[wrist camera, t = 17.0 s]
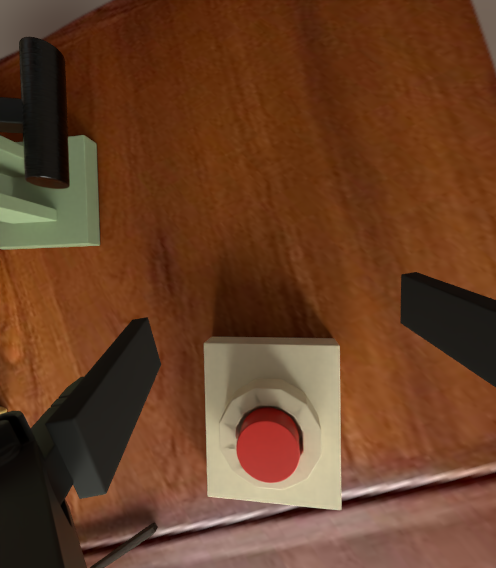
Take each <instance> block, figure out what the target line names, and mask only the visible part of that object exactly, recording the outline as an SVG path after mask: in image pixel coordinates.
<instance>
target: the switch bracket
mask: <svg viewBox="0 0 496 568" xmlns="http://www.w3.org/2000/svg"><path fill="white" fill-rule="evenodd" d="M68 151H69V178H70V186H69V187H68V188H66V189H51V188H45V187H40V186H36V185H33V184H31V183H29V182H27V181H26V180H25V171H24V147H23V142H13V141H11V140H9V139H7V138H5V137H3V136H1V135H0V249H27V248H51V247H75V246H99V245H100V229H99V200H98V171H97V144H96V143H95V142H93V141H92V140H91V139H89V138H88V137H86V136H85V135H79V136H70V137H68Z"/></svg>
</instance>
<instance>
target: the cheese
mask: <svg viewBox="0 0 496 568" xmlns="http://www.w3.org/2000/svg"><path fill="white" fill-rule="evenodd" d="M6 412H7V409H6V408H4V407H1V406H0V414H2V413H6Z"/></svg>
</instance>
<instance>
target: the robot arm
mask: <svg viewBox="0 0 496 568" xmlns="http://www.w3.org/2000/svg"><path fill="white" fill-rule="evenodd" d="M401 324H403V325H404V326H406V327H407V328H409V329H410V330H412V331H413V332H415V333H416V334H418V335H419V336H421V337H422V338H424V339H425V340H427V341H428V342H430V343H431V344H432V345H434V346H435V347H437V348H438V349H440V350H441V351H443V352H444V353H446V354H447V355H449V356H450V357H452V358H453V359H455V360H456V361H458V362H459V363H461V364H462V365H464V366H465V367H466V368H468V369H469V370H471V371H472V372H474V373H475V374H477V375H478V376H480V377H481V378H483V379H484V380H486V381H487V382H489V383H490V384H492V385H493V386H495V387H496V300H494V299H491V298H488V297H485V296H482V295H480V294H477V293H474V292H471V291H468V290H465V289H463V288H460V287H457V286H454V285H451V284H448V283H445V282H443V281H440V280H437V279H434V278H431V277H428V276H426V275H423V274H420V273H417V272H414V273H408V274H402V275H401ZM160 366H161V362H160V359H159V355H158V352H157V348H156V345H155V341H154V338H153V334H152V331H151V327H150V324H149V320H148V317H146V318H140V319H134V320H132V321H131V322H130V323H129V325H128V326H127V327H126V328H125V329H124V330H123V332H122V333H121V334H120V335H119V336H118V338H117V339H116V340H115V341H114V342H113V343H112V345H111V346H110V347H109V348H108V349H107V351H106V352H105V353H104V354H103V355H102V357H101V358H100V359H99V360H98V361H97V362H96V364H95V365H94V366H93V367H92V368H91V370H90V371H89V372H88V373H87V374H86V376H85V377H80V378H79V379H78V380H76V381H75V382H74V383H72V384H71V385H70V386H68V387H67V388H66V389H65V391H64V392H63V393H62V394H61V395H60V396H59V399H57V400H56V401H55V402H54V403H53V404H52V405H51V408H49V409H48V410H47V411H46V412H45V413H44V414H43V415H42V416H41V418H40V419H39V420H38V421H37V422H36V423H35V424H34V425H33V427H32V428H31V429H30V427H29V425H28V423H27V421H26V419H25V417H24V415H23V413H22V412H21V411H10V412H6V413H2V414H0V568H87V567H86V563H85V560H84V556H83V553H82V550H81V546H80V543H79V539H78V536H77V533H76V529H75V526H74V523H73V519H72V516H71V512H70V509H69V506H68V504H67V502H66V500H65V497H66V496H67V494H68V492H69V490H70V488H71V487H72V485H74V487H75V490H76V492H77V494H78V496H79V498H80V499H82V498H87V497H92V496H98V495H103V494H106V493H107V491H108V488H109V486H110V484H111V481H112V479H113V476H114V474H115V472H116V469H117V467H118V465H119V462H120V460H121V458H122V455H123V453H124V451H125V448H126V446H127V443H128V441H129V439H130V436H131V434H132V432H133V429H134V427H135V425H136V422H137V420H138V418H139V415H140V413H141V411H142V408H143V406H144V403H145V401H146V399H147V396H148V394H149V392H150V389H151V387H152V385H153V382H154V380H155V378H156V375H157V373H158V370H159V368H160Z"/></svg>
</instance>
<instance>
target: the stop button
mask: <svg viewBox="0 0 496 568" xmlns="http://www.w3.org/2000/svg"><path fill="white" fill-rule="evenodd" d="M236 452H237V457H238V460H239V462H240V464H241V466H242V468H243V469H244V470H245V471H246V472H247V473H248V474H249V475H250V476H251V477H253V478H254V479H256V480H259V481H261V482H265V483H277V482H281V481H283V480H285V479H287V478H288V477H290V476H291V475H292V474H293V473H294V471H295V470H296V468H297V466H298V464H299V460H300V447H299V434H298V430H297V427H296V425H295V423H294V422H293V420H292V419H291V418H290V417H289V416H288V415H287V414H286V413H284V412H283V411H281V410H278V409H275V408H270V407H264V408H259V409H257V410H254V411H253V412H251V413H250V414H249V415H248V416H247V417H246V418H245V420H244V422H243V424H242V427H241V430H240V433H239V437H238V440H237V445H236Z"/></svg>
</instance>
